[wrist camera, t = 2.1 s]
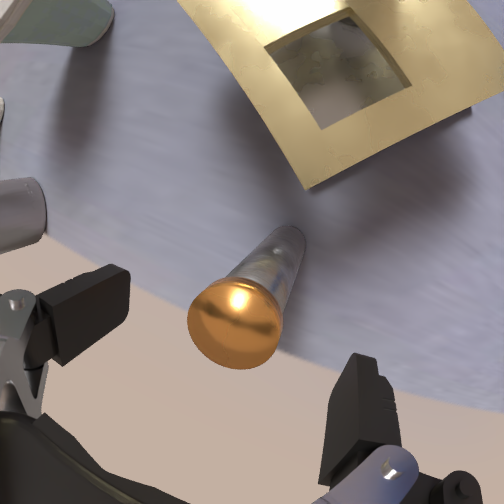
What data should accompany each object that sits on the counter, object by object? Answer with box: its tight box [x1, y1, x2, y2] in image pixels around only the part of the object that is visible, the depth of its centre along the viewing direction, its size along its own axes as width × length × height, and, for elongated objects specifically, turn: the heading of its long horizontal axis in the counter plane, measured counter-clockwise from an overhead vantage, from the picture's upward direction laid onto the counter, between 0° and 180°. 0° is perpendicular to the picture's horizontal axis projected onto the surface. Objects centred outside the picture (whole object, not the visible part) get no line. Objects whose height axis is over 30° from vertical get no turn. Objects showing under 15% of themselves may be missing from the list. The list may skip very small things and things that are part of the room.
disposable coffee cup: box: [0, 0, 114, 47], centre depth 15 cm, size 11×11×15 cm
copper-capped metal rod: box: [187, 225, 306, 369], centre depth 17 cm, size 3×3×14 cm
